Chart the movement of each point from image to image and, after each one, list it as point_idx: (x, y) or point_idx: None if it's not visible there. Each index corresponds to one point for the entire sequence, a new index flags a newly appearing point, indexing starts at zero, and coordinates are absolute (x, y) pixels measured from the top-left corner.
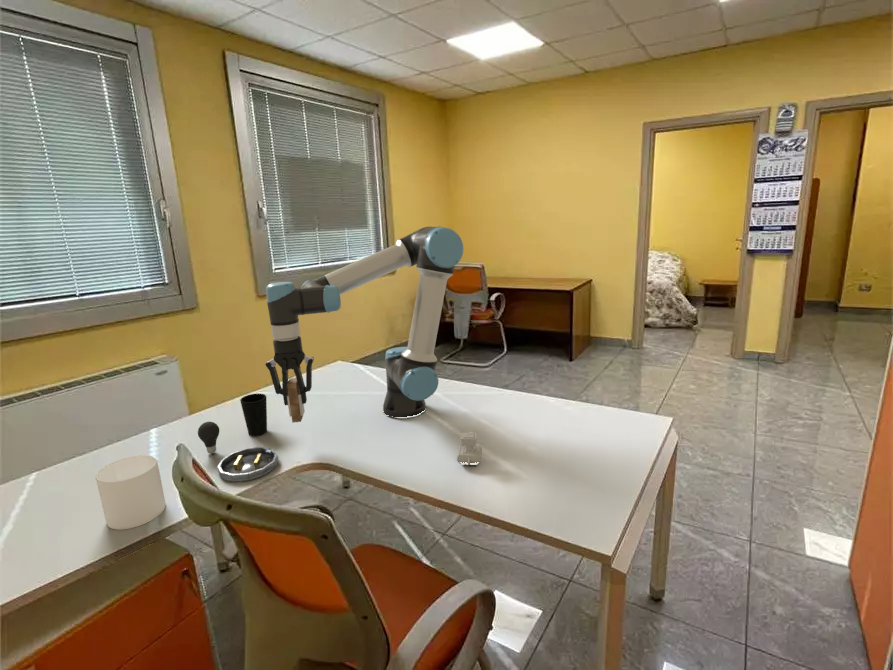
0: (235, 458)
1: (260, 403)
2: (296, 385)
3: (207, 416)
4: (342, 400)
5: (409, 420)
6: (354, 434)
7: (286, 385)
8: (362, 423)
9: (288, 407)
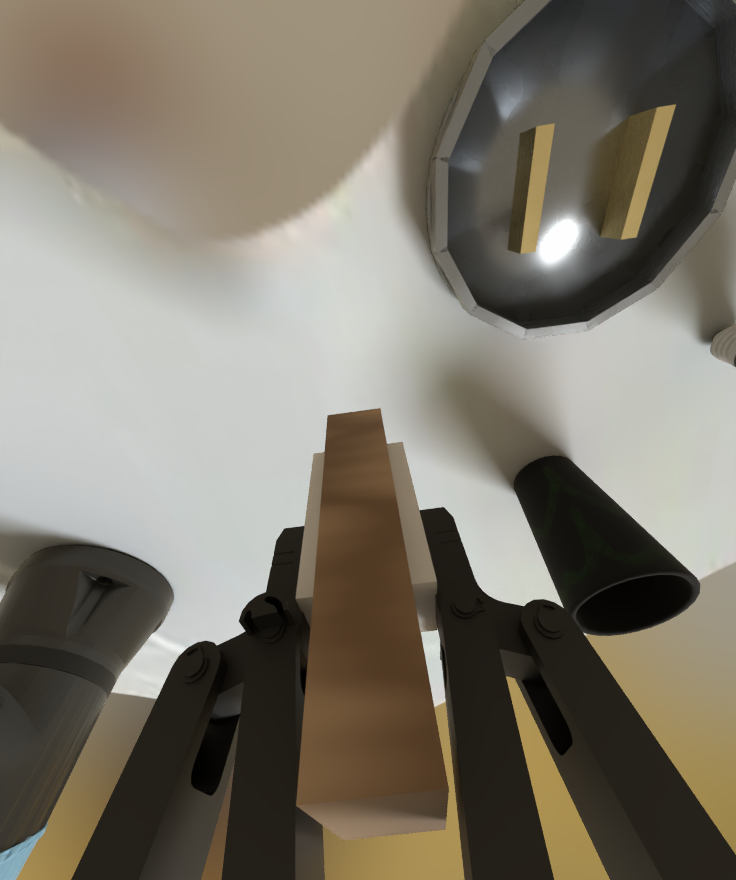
0: (635, 263)
1: (591, 573)
2: (310, 739)
3: (698, 560)
4: None
5: (42, 537)
6: (185, 460)
7: (459, 736)
8: (197, 523)
9: (412, 488)
